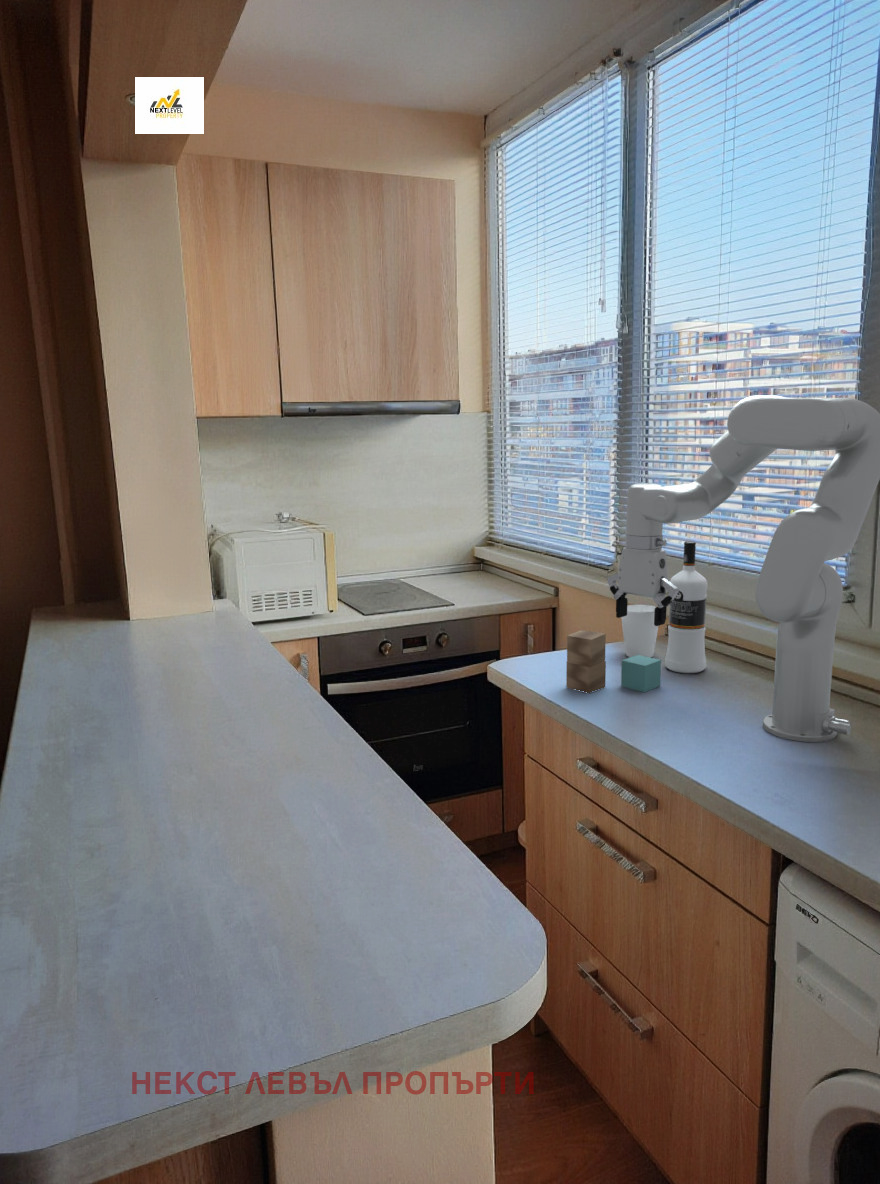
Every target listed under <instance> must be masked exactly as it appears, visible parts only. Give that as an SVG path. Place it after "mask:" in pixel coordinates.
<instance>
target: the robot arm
mask: <svg viewBox="0 0 880 1184" xmlns="http://www.w3.org/2000/svg"><path fill="white" fill-rule="evenodd" d="M726 425H727V426H726V427H727V431H725V432H724V433H723V434H722V435H721V436H719V437H718V438H717V439H716V440H714V442H713V443H712V444H711V446H710V448H709V456H710V460H711V462H712V464H711V465H710V467H709V468H708V469H706V471H704V472H703V473H702V474H701V475H700V476H698V477H697V478H696V479H695V480H694V481H693V482H690V483H685V484H684V483H683V484H674V485H667V486H663V485H660V484H658V483H646V482H645V483H635V484H634V483H633V484H631V485H630V486H629V487H628V489H627V495H626V496H627V497H626V499H627V500H626V518H625V519H626V521H625V523H626V524H625V543H624V545H625V546H624V547H623V548H622V551H621V555H620V560H619V566H618V572H617V573H614V574H613V575H610V576H608V577H607V579H606V580H607V584H608V586H609V590H610V592H611V594H612V595H613V599H614V600H615V617H616V618H617V619H620V618H622V617H624V616H626V615H627V605H628V598H627V595H634V596H640V597H643V598H644V597H645V598H652V600H653V601H654V603H655V604H656V606H655V607H656V608H655V614H654V625H655V626H658V627H660V626H661V625H664V624H666V620H667V609H668V607H670V603H671V602H672V601H674V599H675V597H676V595H677V593H678V591H679V589H678V588H677V587H676V586H675V585H673V584H672V583H671V582H670V580H669V568H668V566H669V565H668V558H667V553H666V549H663V547H666V545H667V543H668V541H667V540H666V539H664V538H663V536H664V535H663V527H664V526H663V525H664V524H676V523H682V522H689V521H695V520H699V519H702V518H704V517H706V516H707V515H710V513H712V512H713V511H714V510H715V509H717V508H718V507H719V506H721V505H722V504H723V503H725V501H727V500H729V498H730V497H731V496H732V495H733V494H734V493H735V491H736V490H737V489H738V487H739V486H740V484H741V482H742V481H743V477H745V476H746V475H747V474H749V472H751V470H753V469H755V467H756V466H758V465H759V464H761V463H762V462H763V461H764V460H765V459H766V458H768V457H769V456H770V455H771V454H773V453H774V452H776V450H779V449H780V450H781V449H782V450H783V449H784V450H790V451H791V450H792V451H805V452H806V451H807V452H815V451H816V452H819V451H832V450H834V452H835V453H834V456H833V459H832V460H831V462H830V463H829V464H828V466H827V468H826V470H825V471H824V472H823V475H822V478H821V480H820V482H819V486H818V489H817V491H816V494H815V496H814V499H813V501H812V503H811V504H810V506H809V507H806V508H805V507H804V508H800V509H797V510H795V511H792V512H791V513H789V514H788V515H786V516H785V517H784V518H783V519H782V520H781V522H780V523H779V524H778V526H777V528H776V529H775V530H774V533H773V536H772V539H771V541H770V544H769V546H768V550H767V553H766V555H765V558H764V561H763V565H762V566H761V570H760V572H759V575H758V578H757V582H756V586H755V594H754V595H755V596H754V597H755V602H756V603H755V604H756V605H757V608H758V610H759V612H760V613H761V614H762V615H763V617H765V618H767V619H768V620H770V621H772V622H776V623H778V629H777V635H776V647H775V660H774V661H775V664H774V679H773V680H774V682H773V698H772V699H773V700H772V713H770V714H769V715H766V716H765V717H764V718H763V721H762V726H763V727H762V728H763V729H764V730H765V731H766V732H768V733H769V734H771V735H773V736H776V737H779V738H782V739H785V740H788V741H790V740H791V741H796V742H805V743H806V742H807V743H819V742H826V741H830V740H832V739H834V738H836V736H837V734H841V735H846V736H849V735H850V734H851V732H852V725H851V724H850V720H847V719H842V718H841V719H840V718H837V716H836V715H835V714H836V713H835V708H831V707H830V704H831V691H832V690H831V689H832V679H833V677H832V675H833V665H834V664H833V661H834V652H835V651H834V650H835V640H836V639H835V637H836V631H837V623H838V617H839V614H840V611H841V606H842V602H843V596H844V595H843V594H844V588H843V587H844V586H843V581H842V578H841V575H840V574H839V573H838V571H837V570H836V569H835V567H833V566H831V565H830V564H827V563H826V562H828V561H832V560H836V559H838V558H841V557H844V556H846V555H847V554H848V553H849V552H851V550H852V549H853V548H854V546H855V544H856V542H857V540H858V537H859V534H860V532H861V530H862V527H863V524H864V521H865V519H866V516H867V513H868V511H869V509H870V506H871V503H872V500H873V497H874V494H875V492H876V489H877V486H878V485H879V482H880V413H879V411H878V410H877V409H875V408H874V407H872V405H871V404H868V403H866V402H864V401H862V400H859V399H855V398H850V397H784V396H782V395H780V396H779V395H751V396H747V397H745V398H743V399H740V401H738V402H737V403H736V404H735V405H734V406H733V407H732V408H731V410H730V412H729V414H728V417H727V421H726ZM667 593H668V594H667ZM666 594H667V595H666Z"/></svg>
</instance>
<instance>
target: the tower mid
mask: <svg viewBox="0 0 880 1184" xmlns="http://www.w3.org/2000/svg"><path fill="white" fill-rule="evenodd" d="M606 636H607V634H606V633H604V632H603V633H602V632H597V631H591V630H583V629H579V630H578V631H575V632H573V633H570V634H568V635H567V637H566V641H567V642H566V663H567V662H568V663H573V664H578V665H584V666H589V667H592V666H594V665H597V664H599V663H601V662H603V661H606V638H607V637H606Z"/></svg>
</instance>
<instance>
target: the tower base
mask: <svg viewBox="0 0 880 1184" xmlns="http://www.w3.org/2000/svg"><path fill="white" fill-rule="evenodd" d="M606 664H607V661H606V660H605V661H603V662H601V663H599V664H597V665H594V666H592V667H589V666H584V665H578V664H573V663H568V662H567V661H566V672H565V673H566V674H565V675H566V683H565V684H566V685H565V688H566V687H568V688H567V689H569V688H571V689H570V690H573V689H576V690H580V691H584V692H587V693H589V694H591V693H590V692H592V691H595V690H597V691H599V690H598V689H600V690H602V689H601V688H603V689H605V688H606V674H607V673H606V672H607V671H606V669H607V668H606V666H607V665H606ZM604 687H605V688H604ZM576 690H575V691H576ZM580 691H579V692H580ZM584 692H583V693H584ZM595 692H596V691H595ZM587 693H586V694H587ZM592 693H593V692H592Z"/></svg>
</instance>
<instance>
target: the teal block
mask: <svg viewBox="0 0 880 1184" xmlns="http://www.w3.org/2000/svg"><path fill="white" fill-rule="evenodd" d="M661 666H662V660H661V659H659V658H653V657H651V658H650V657H645V656H641V655H636V656H633V657H627V658H624V659H622V660H621V673H620V674H621V675H620V676H621V679H620V686H621V687H622V688H626V689H629V690H633V691H637V692H641V693H647V692H648V691H651V690H654V689H657V688H659V687H661V674H662V673H661V672H662V668H661Z"/></svg>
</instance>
